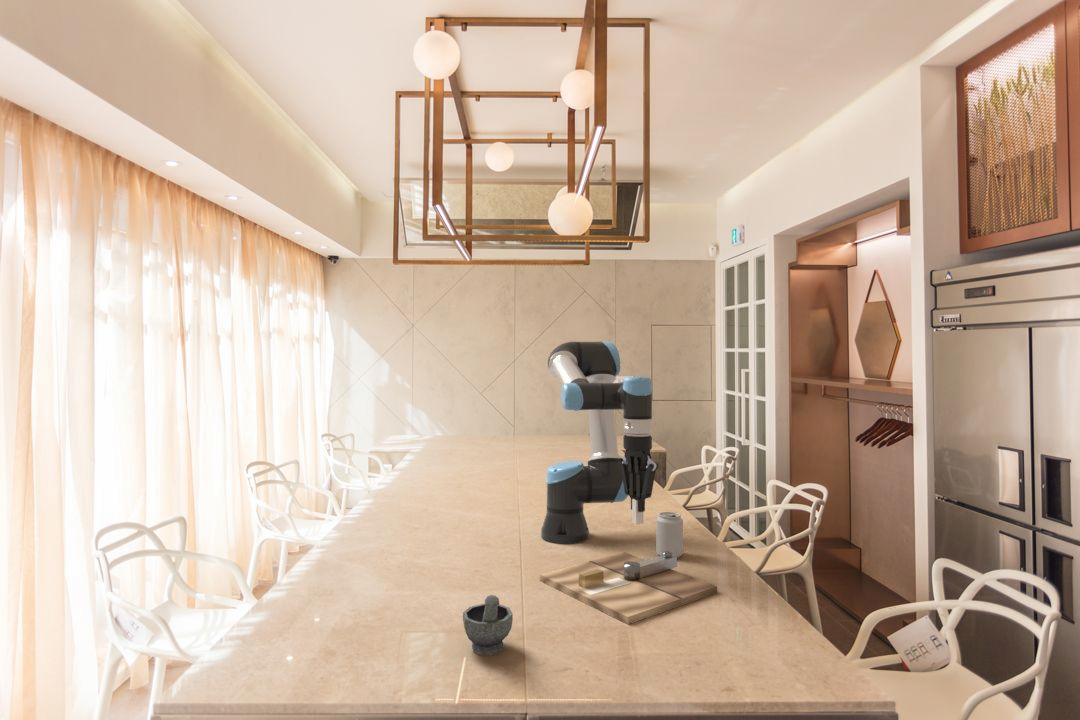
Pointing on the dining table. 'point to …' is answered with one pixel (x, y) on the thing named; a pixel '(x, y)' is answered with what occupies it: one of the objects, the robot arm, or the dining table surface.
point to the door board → (626, 588)
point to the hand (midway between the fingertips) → (637, 523)
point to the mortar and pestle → (487, 626)
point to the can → (669, 533)
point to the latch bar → (649, 566)
